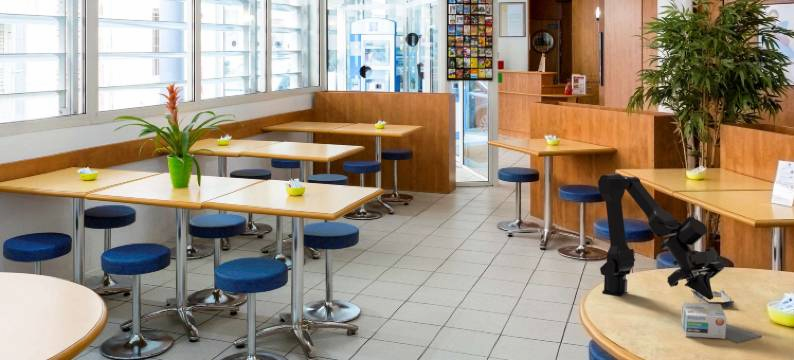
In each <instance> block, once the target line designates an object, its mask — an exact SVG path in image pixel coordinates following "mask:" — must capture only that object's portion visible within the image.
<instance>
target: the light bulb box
mask: <svg viewBox="0 0 794 360" xmlns="http://www.w3.org/2000/svg"><path fill="white" fill-rule="evenodd" d="M681 304H682V306H681V307H682V308H681V327H682V329H683V331H684V335H685V337H686V338H709V339H711V338H712V339H722V340H723V339H724V340H726V339H725V334H726V324H727V316H726V313H725V311H724V309H723V307H722V306H721V304H709V303H702V302H687V301H683V302H682V303H681Z"/></svg>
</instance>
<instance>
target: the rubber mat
mask: <svg viewBox="0 0 794 360" xmlns="http://www.w3.org/2000/svg"><path fill="white" fill-rule="evenodd" d="M761 337H762V334H758V333H755V332H753V331H749V330H747V329H744V328H741V327H738V326H734V325H732V324H729V323H726V334H725V339H724V340H728V341H731V342H734V343H736V344H741V343H743V342H747V341H751V340H755V339H757V338H761Z"/></svg>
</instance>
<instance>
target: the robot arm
mask: <svg viewBox="0 0 794 360" xmlns="http://www.w3.org/2000/svg"><path fill="white" fill-rule="evenodd" d="M597 187H598V190H599V194H600V196H601V197H602V198H603V200H604V202H605V207H606V217H607V225H608V226H607V227H608V232H609V233H608V235H609V245H610V246H609V248H608V250H607V252H606V262H605V263H604V264H603V265H602V266H600V267H599V270H600V275H602V276H604V279H603V280H604V281H603V282H604V283H603V290H602V291H601V293H602V294H606V295H613V296H619V297H620V296H622V297H623V295H624V294H626V292H627V291H628V279H627V275H630V273H631V271H632V269H633V267H634V266H635V262H636V258H635V250H634V249H633V248H630V247H629V246H628V244H627V241H626V232H625V230H626V229H625V221H624V214H623V205H622V204H623V203H622V200H623V197H624V195H625V192H626V191H627V193H628V194H629V196H630V197H631V198H632V199H633V201H634V202H635V203H636V205H637V206H638V207H639V208H640V209H641V211H642V212H643V213H644V215H645V216H646V217H647V223H648V226H649V228H650V229H651V231H652V233H653V234H654V236H656V237H657V238H666V237H668V238H667V239H662V240H661V244H660V249H661V250H666V249H668V251H669V253H670V254H671V256H672V257H673V259H674V261H673V262H672V263H673V265H674V266H678V267H679V268H678V269H675V270H674V271H673V272H672V273H671V274H670V275H668V276H667V284H668V285H669V286H670V288H673V287H677V286H678V285H679V281H683V280H685V281H686V283H685V284H684V287H688V288H689V289H690V290H692V291H693V290H694V291H696V292H698V293H700V294H701V295H703V296H702V297H703V298H705V299H706V300H708V301H711V300H713V299H714V296H713V294H712V292H713V289H712V286H711V279H713V278H714V277H715V276H717V275H718V274H719V273H720V272H722V271H723V270H724V269H725V266H724V265H723V264H722V262H720V261H717V258H718V256H719V255H718V254H719V253H718V251H717V250H716V249H715V247H714V246H712V247H708V248H705V250H704V251H701V252H699V251H698V250H693V249H692V248H691V246H694V245H695V244H696V243H697V242H699V241H700V240H701V239H702V238H703V237H705V236H706V235H707V234H708V228H707V226H706V224H705V223H703V222H702V221H700V220H699V219H696V218H695V216H694V215H692V216H688V217H687V218H686V219H685V221H683V222H680V221H679V220H678V219H677V218H676V217H675V216H674V215H673V214H672V213H671V212H669V211H666V209H665V210H664V209H663V208H662V207H661V206H660V205H659V204H658V202H657V201H656V200H655V199H654V197H653V196H652V195H651V194H650V193H649V191H648V190H647V189H646V187H645V186H644V185H643V183H642V182H641V180H640V178H639V177H637V176H623V175H622V174H620V173H618V172H617V173H609V174H602V175H601V176H599V178H598V180H597ZM707 263H708V264H707Z"/></svg>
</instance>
